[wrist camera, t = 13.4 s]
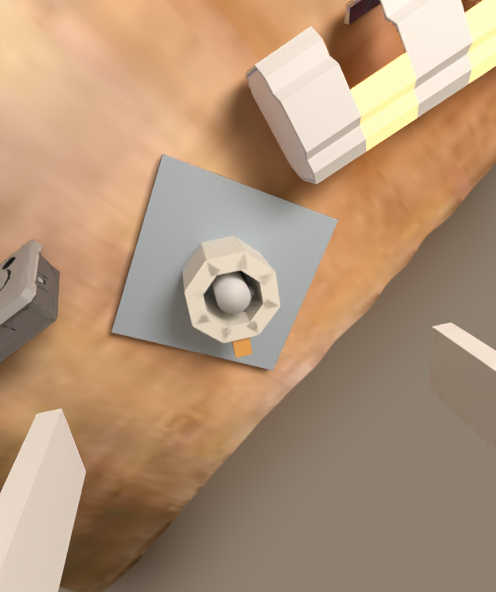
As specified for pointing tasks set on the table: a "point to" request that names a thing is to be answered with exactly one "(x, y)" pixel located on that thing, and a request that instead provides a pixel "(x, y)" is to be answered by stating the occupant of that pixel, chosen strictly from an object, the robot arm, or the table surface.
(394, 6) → the striped octagonal tube
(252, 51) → the table surface
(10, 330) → the electrical switch
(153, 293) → the shaft plate
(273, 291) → the beige octagonal hollow block
